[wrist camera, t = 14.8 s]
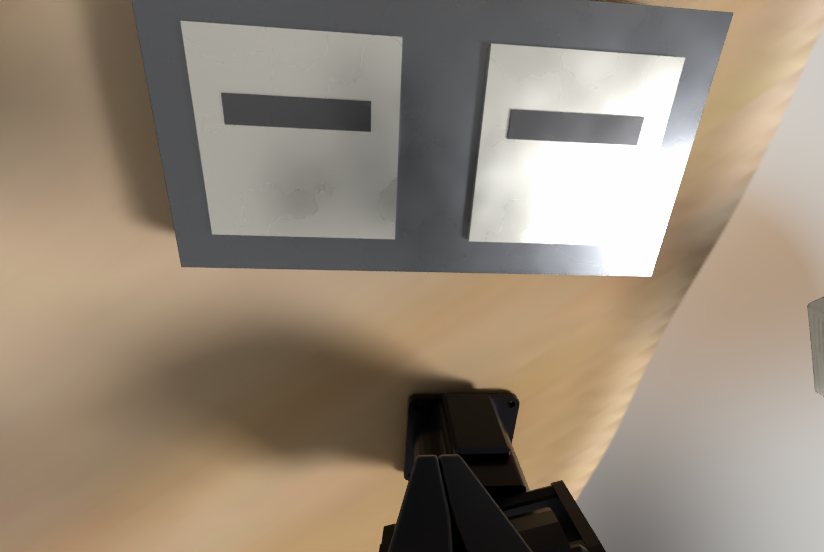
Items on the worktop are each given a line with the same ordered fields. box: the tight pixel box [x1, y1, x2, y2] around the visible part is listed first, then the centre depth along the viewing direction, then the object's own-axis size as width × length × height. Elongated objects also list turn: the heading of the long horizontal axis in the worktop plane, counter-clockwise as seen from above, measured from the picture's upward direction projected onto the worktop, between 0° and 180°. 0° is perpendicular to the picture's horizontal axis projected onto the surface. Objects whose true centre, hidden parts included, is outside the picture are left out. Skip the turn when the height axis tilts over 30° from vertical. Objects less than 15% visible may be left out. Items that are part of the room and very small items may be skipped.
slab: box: [132, 0, 733, 276], centre depth 16 cm, size 10×20×3 cm, turn 87°
